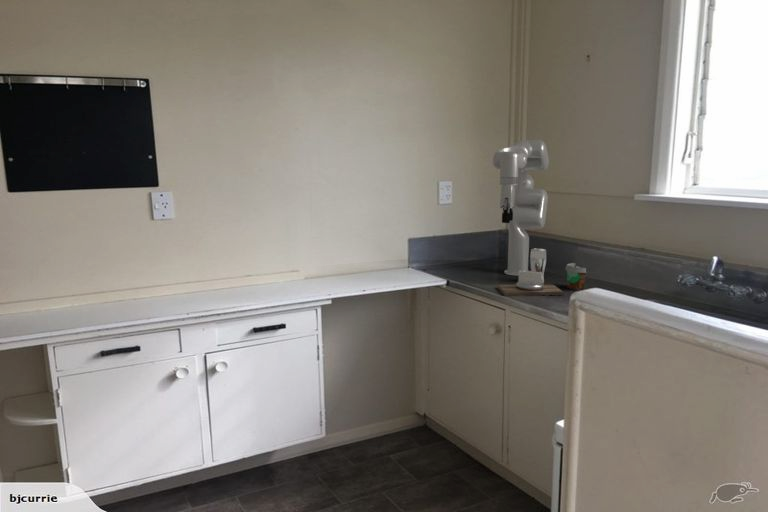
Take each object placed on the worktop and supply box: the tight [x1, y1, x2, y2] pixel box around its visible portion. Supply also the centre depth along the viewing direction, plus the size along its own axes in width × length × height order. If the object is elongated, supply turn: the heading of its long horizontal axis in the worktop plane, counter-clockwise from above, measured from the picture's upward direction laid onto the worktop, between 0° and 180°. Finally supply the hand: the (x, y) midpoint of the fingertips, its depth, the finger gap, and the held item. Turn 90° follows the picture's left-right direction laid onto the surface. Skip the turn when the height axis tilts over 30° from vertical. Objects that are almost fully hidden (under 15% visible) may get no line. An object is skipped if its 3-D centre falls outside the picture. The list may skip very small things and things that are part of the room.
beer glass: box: [529, 248, 547, 284], centre depth 273 cm, size 7×7×15 cm
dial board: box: [496, 283, 565, 297], centre depth 255 cm, size 15×24×2 cm, turn 91°
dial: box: [516, 270, 545, 290], centre depth 255 cm, size 11×11×7 cm
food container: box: [565, 262, 587, 291], centre depth 261 cm, size 12×6×10 cm, turn 5°
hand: (507, 221), depth 262 cm, fingers open, 9 cm apart
